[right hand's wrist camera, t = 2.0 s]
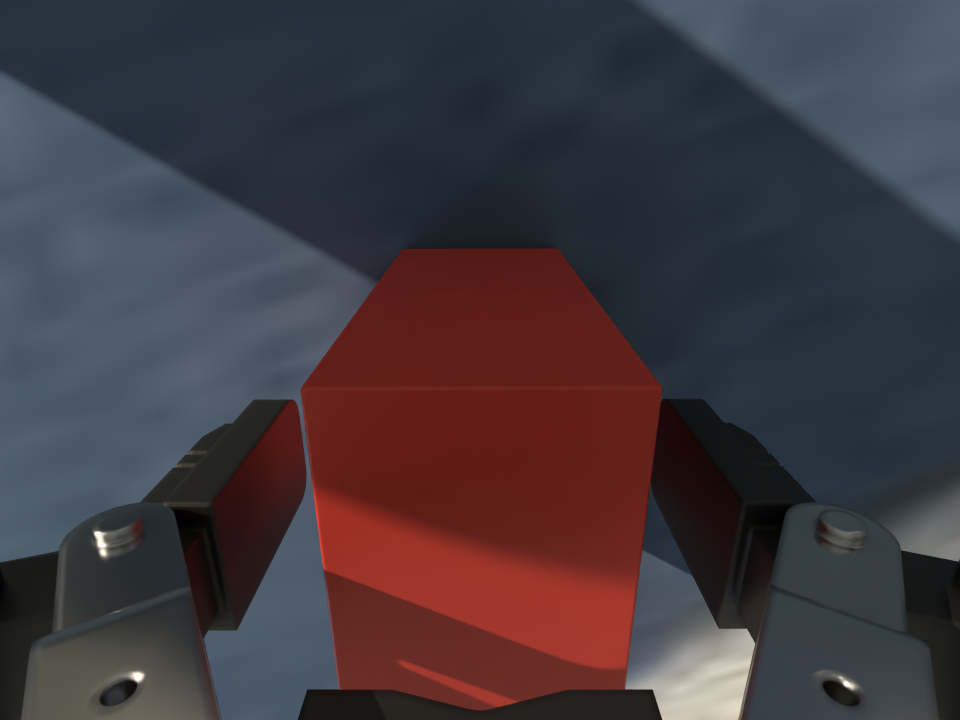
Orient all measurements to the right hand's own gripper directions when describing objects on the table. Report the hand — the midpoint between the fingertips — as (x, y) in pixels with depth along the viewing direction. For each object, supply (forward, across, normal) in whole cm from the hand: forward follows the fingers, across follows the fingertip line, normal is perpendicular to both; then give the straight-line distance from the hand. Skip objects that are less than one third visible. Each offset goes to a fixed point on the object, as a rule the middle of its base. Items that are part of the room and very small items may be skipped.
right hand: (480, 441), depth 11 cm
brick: (+5, 0, 0) cm, 5 cm away
